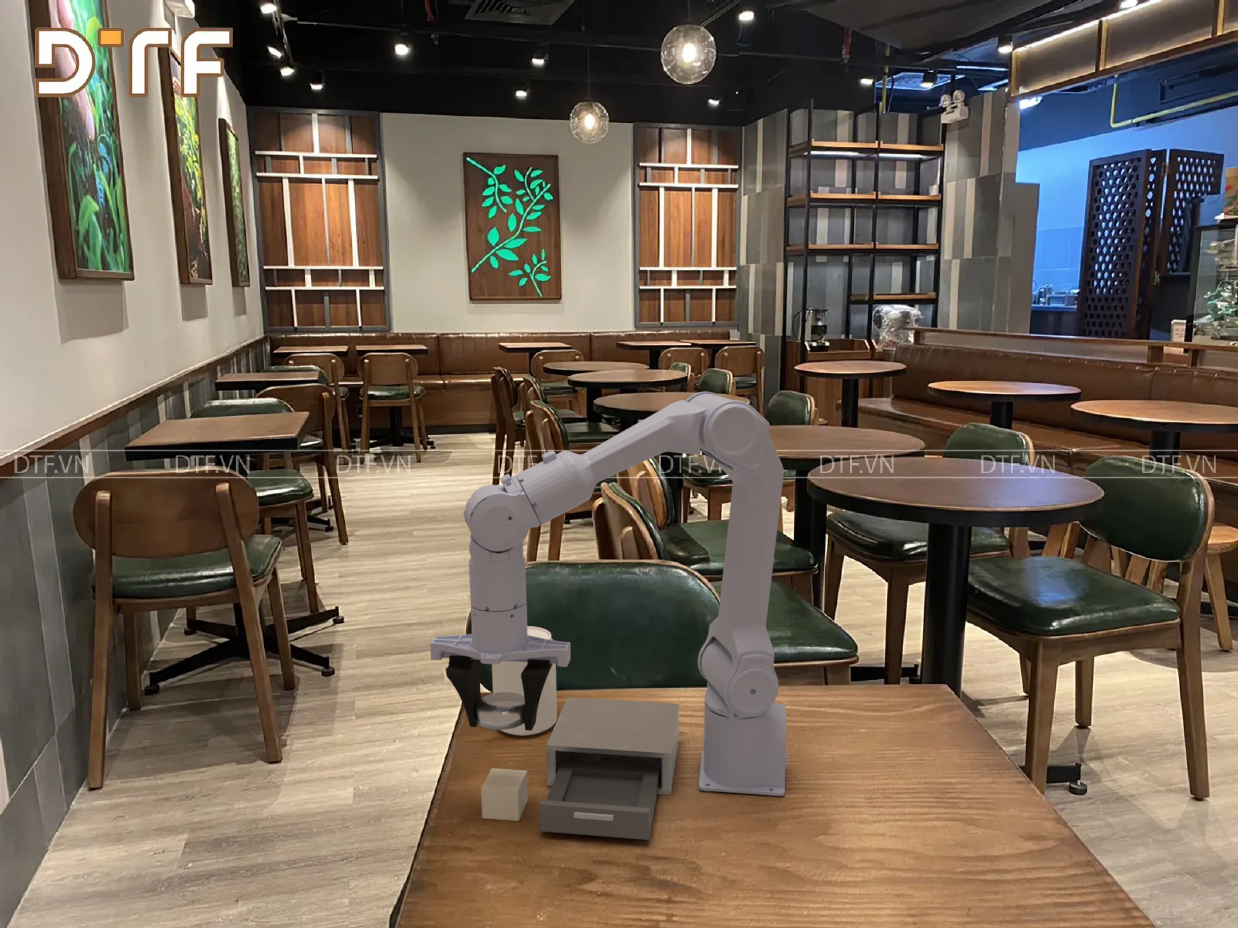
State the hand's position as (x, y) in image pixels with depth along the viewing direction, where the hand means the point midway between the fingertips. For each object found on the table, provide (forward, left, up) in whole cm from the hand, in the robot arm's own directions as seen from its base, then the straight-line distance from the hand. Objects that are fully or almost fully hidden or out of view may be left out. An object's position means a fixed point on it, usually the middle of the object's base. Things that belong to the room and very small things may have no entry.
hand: (502, 724), depth 93 cm
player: (-10, -11, -10) cm, 18 cm away
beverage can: (+3, -19, -10) cm, 22 cm away
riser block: (0, 0, -10) cm, 10 cm away
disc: (0, 0, +1) cm, 1 cm away
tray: (-11, -1, -9) cm, 14 cm away
